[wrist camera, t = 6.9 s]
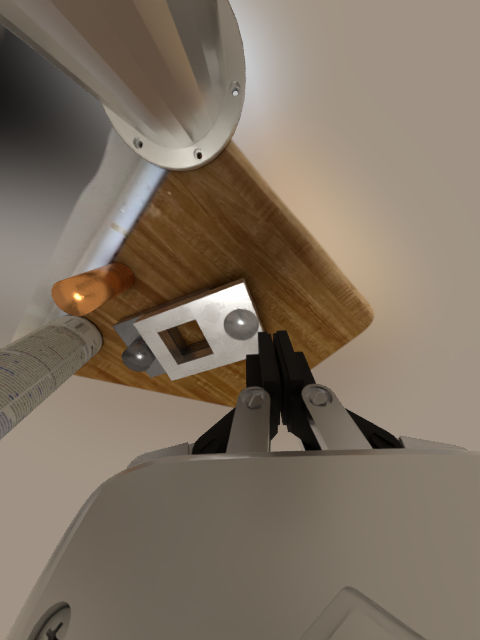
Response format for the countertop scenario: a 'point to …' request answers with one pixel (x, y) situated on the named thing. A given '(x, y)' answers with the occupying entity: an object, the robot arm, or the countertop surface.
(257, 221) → the countertop surface
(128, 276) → the pin
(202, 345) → the plate
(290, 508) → the robot arm
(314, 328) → the countertop surface
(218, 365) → the plate with square hole
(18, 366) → the spray can
